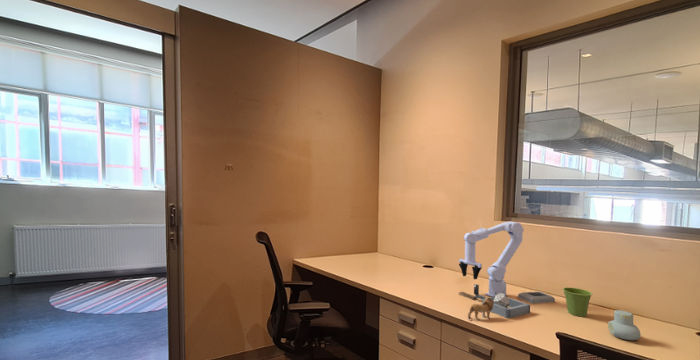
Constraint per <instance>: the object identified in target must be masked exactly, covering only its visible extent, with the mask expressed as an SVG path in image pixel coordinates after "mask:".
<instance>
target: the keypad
mask: <svg viewBox="0 0 700 360" xmlns="http://www.w3.org/2000/svg"><path fill="white" fill-rule="evenodd" d="M517 296H518V299H520V300H522V301H525V302H526V303H527V302H528V304H529V303H530V304H545V303H547V304H548V303H549V302H551V303H555V302H556V299H555V298H554V296H552V295H550V294H547V293H544V292H542V291H526V292H525V291H524V292H519V293H518V294H517Z"/></svg>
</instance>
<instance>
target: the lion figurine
mask: <svg viewBox="0 0 700 360" xmlns="http://www.w3.org/2000/svg"><path fill="white" fill-rule="evenodd" d="M486 297H487V298H485V300H484V303H483V304H482V303H480V304H479V303H472V304H471V306H470V307H469V311H468V314H467V318H468V320H470V319H472V317H471V314H473V313H474V314H475V315H474V317H475V319H476V320H477V321H481V319H480V318H479V315H478V314H479V313H482V318H485V317H486V318H487V319H488V320H491V318H490V315H491V312H490V311H491V310H492V309H493V300H492V298H491V296H486ZM485 313H486V314H485Z"/></svg>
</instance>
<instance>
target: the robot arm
mask: <svg viewBox="0 0 700 360" xmlns="http://www.w3.org/2000/svg"><path fill="white" fill-rule="evenodd" d="M502 231H504V232H507V233H508V234H509V237H510V240H509V241H508V243H507V245H506V246H505V248H504V249H503V251H502V252H501V254H500V256H499V257H498V259H497V260H496V261H495V262H494V263H492V265H491V266H489V267H488V268H487V270H486V271H487V275H488V276H489V277H488V292H485V295H487V296H488V297H494V296H495V295H496V294H498V293H502V291H503V294H504V295H507V297H508V296H509V295H508V294H507V284H506V283H507V282H506V281H505V280H504V279H505V274H506V272H507V265H508V264H509V263H510V261H511V260H512V259H513V256H514V255H515V253H516V252H517V250H518V249H519V248H520V247H519V246H520V245H521V244H522V242H523V232H524V227H523V225H522V224H521V222H516V221H511V220H509V221H504V222H502V223H499V224H496V225H494V226H491V227H490V228H485V227H483V228H482V227H479V228H478V229H477V230H472V231H471V232H466V233H465V234H464V236H463V241H464V259H463V258H460V259H458V266H459V267H460V270H461V274H462V276H463V277H467V270H468V266H471V269H472V273H473V280H477V279H478V277H479V274H480V272H481V270H482V267H483V266H482V265H483V263H481V262H477V261H476V243H477V242H479V241H482V240H484V239H487V238H489V236H490V235H492V234H496V233H499V232H502ZM495 293H496V294H495Z"/></svg>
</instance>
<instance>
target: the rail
mask: <svg viewBox="0 0 700 360" xmlns="http://www.w3.org/2000/svg"><path fill="white" fill-rule="evenodd" d="M458 295H459V296H462V297H465V298H467V299H469V300H474V301H476V300H478V298H476V297H475V295H473V294H470V293H467V292H464V291H460V292H459V291H458Z"/></svg>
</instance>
